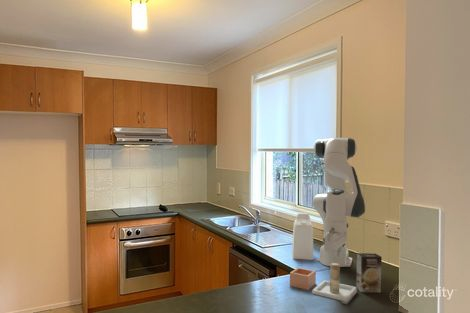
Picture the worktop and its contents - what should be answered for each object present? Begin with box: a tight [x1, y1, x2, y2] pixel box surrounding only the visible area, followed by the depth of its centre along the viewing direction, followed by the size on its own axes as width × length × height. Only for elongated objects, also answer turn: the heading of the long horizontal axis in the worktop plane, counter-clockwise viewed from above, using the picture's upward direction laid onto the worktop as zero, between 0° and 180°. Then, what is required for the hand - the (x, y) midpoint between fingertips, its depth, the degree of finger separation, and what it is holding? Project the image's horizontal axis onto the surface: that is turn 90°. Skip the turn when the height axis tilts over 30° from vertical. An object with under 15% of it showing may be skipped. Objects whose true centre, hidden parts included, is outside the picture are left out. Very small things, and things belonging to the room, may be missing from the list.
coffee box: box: [355, 252, 383, 293], centre depth 166 cm, size 9×6×16 cm
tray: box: [311, 279, 358, 305], centre depth 160 cm, size 15×15×2 cm
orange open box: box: [289, 267, 317, 291], centre depth 168 cm, size 9×9×7 cm
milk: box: [291, 212, 315, 261], centre depth 218 cm, size 12×12×26 cm
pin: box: [329, 263, 341, 294], centre depth 160 cm, size 4×4×12 cm
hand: (335, 257), depth 160 cm, fingers open, 8 cm apart
